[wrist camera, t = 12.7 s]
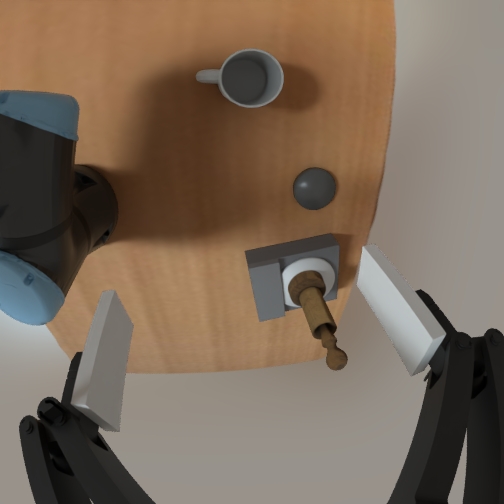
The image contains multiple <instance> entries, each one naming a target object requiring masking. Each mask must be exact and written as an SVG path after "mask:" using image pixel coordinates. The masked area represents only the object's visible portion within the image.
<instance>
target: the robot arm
mask: <svg viewBox="0 0 504 504" xmlns="http://www.w3.org/2000/svg"><path fill="white" fill-rule="evenodd" d="M78 119H79V104H78V102H77V100H76V99H75V98H74V97H72V96H70V95H65V94H58V93H49V92H37V91H19V90H0V309H1V310H2V311H3V312H4V313H6V314H7V315H9V316H10V317H12V318H13V319H15V320H18V321H20V322H22V323H25V324H30V325H44V324H46V323H48V322H50V321H52V320H53V319H54V317H55V316H56V314H57V313H58V311H59V309H60V308H61V306H63V304H64V301H65V297H66V295H67V293H68V291H69V289H70V287H71V285H72V283H73V281H74V279H75V277H76V275H77V273H78V271H79V269H80V267H81V266H82V264H83V262H84V260H85V258H86V256H87V255H89V254H90V253H92V252H93V251H95V250H96V249H98V248H100V247H101V246H102V245H103V244H104V243H105V242H106V241H107V240H108V239H109V237H110V236H111V234H112V232H113V230H114V228H115V226H116V223H117V218H118V205H117V200H116V196H115V194H114V192H113V189H112V188H111V186H110V184H109V183H108V182H107V180H106V179H105V178H104V177H103V176H102V175H101V174H99V173H98V172H97V171H95V170H93V169H91V168H89V167H86V166H82V165H74V164H75V152H76V143H77V141H78V139H79V137H78V135H77V129H78ZM357 286H358V288H359V289H360V291H361V293H362V294H363V296H364V297H365V299H366V300H367V302H368V304H369V305H370V307H371V308H372V310H373V312H374V313H375V315H376V317H377V318H378V320H379V321H380V323H381V325H382V326H383V328H384V330H385V332H386V333H387V335H388V336H389V338H390V340H391V342H392V343H393V345H394V347H395V349H396V350H397V352H398V354H399V356H400V357H401V359H402V361H403V363H404V364H405V366H406V368H407V370H408V372H409V374H410V376H413V375H415V374H418V373H420V372H422V371H424V370H425V368H426V367H427V365H428V364H429V365H430V367H431V370H430V371H429V372H428V374H427V375H426V377H425V379H424V381H426V380H427V379H428V382H427V387H426V392H425V396H424V401H423V405H422V409H421V413H420V416H419V420H418V424H417V427H416V430H415V434H414V437H413V441H412V444H411V447H410V449H409V452H408V455H407V458H406V461H405V464H404V466H403V469H402V471H401V474H400V476H399V479H398V481H397V483H396V486H395V488H394V490H393V493H392V495H391V497H390V499H389V501H388V503H387V504H448V500H447V499H448V496H449V493H450V490H451V487H452V484H453V481H454V478H455V474H456V471H457V467H458V464H459V460H460V456H461V451H462V448H463V443H464V438H465V434H466V428H467V463H466V464H467V465H466V478H465V489H464V497H463V504H504V336H503V334H502V333H501V332H500V331H499V330H497V329H493V328H491V329H488V330H487V331H486V333H485V334H484V336H482V337H473V338H471V337H470V336H469V335H468V334H466V333H463V332H457V331H456V330H455V328H454V327H453V326H452V324H451V323H450V321H449V320H448V319H447V317H446V316H445V315H444V313H443V312H442V311H441V310H440V309H439V307H438V306H437V304H435V302H434V301H433V299H432V298H431V297H430V296H429V295H428V294H427V293H425V292H424V291H422V290H421V289H420V290H417V291H414V290H413V288H412V287H411V286H410V285H409V283H408V282H407V281H406V280H405V279H404V277H403V276H402V275H401V274H400V272H399V271H398V270H397V269H396V268H395V266H394V265H393V264H392V263H391V262H390V260H389V259H388V258H387V257H386V256H385V255H384V253H383V252H382V251H381V250H380V249H379V248H378V247H377V246H376V244H371V245H365V246H363V248H362V256H361V262H360V269H359V275H358V281H357ZM133 326H134V325H133V323H132V321H131V319H130V318H129V316H128V314H127V312H126V310H125V309H124V307H123V305H122V303H121V301H120V299H119V297H118V295H117V293H116V291H115V290H109V291H103V292H102V294H101V297H100V300H99V303H98V306H97V309H96V312H95V315H94V318H93V321H92V324H91V327H90V330H89V333H88V337H87V340H86V343H85V347H84V350H83V352H77V353H76V354H75V356H74V358H73V359H72V361H71V364H70V368H69V372H68V375H67V379H66V384H65V387H64V392H63V396H62V400H61V403H60V402H59V401H58V400H57V399H55V398H53V397H47V398H45V399H43V400H42V401H41V402H40V404H39V406H38V410H37V415H38V418H40V420H37V419H36V418H35V417H33V416H30V415H28V416H25V417H24V418H23V419H22V420H21V422H20V426H19V432H20V439H21V446H22V451H23V457H24V461H25V466H26V471H27V474H28V479H29V482H30V486H31V490H32V493H33V496H34V500H35V503H36V504H92V503H91V501H92V502H93V503H94V504H156V503H155V502H154V501H152V499H151V498H150V497H149V496H148V495H147V494H146V493H145V491H143V489H142V488H141V487H140V486H139V485H138V484H137V482H136V481H135V480H134V479H133V477H132V476H131V475H130V474H129V472H128V471H127V470H126V469H125V467H124V466H123V465H122V464H121V462H120V461H119V460H118V459H117V457H116V455H115V454H114V453H113V451H112V450H111V448H110V447H109V446H108V444H107V443H106V441H105V440H104V438H103V437H102V435H101V434H100V433H99V432H98V429H99V426H100V427H101V428H102V429H103V430H105V431H115V432H116V431H117V432H119V431H120V419H121V408H122V399H123V390H124V382H125V375H126V368H127V361H128V355H129V349H130V343H131V337H132V332H133ZM90 499H91V501H90Z"/></svg>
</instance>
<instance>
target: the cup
mask: <svg viewBox="0 0 504 504" xmlns="http://www.w3.org/2000/svg"><path fill="white" fill-rule="evenodd" d="M196 79H197V81H199V82H201V83H213V84H218V87H219V90H220V92H221V93H222V95H223V96H224V97H225V98H227V99H228V100H229V101H231V102H233V103H235V104H237V105H239V106H243V107H247V108H256V107H260V106H264V105H266V104H268V103H270V102H272V101H273V100H274V99H275V98H276V97H277V96H278V94H279V93H280V91H281V89H282V86H283V83H284V74H283V71H282V67H281V65H280V64H279V62H278V61H277V60H276V59H275V58H274V57H273V56H272V55H271V54H269V53H267V52H265V51H263V50H259V49H244V50H240V51H237V52H236V53H234V54H232V55H230V56H229V57H228V58H227V59H226V60H225V62H224V63H223V65H222V67H221V69H220V70H219V69H205V70H201V71H199V72H197V74H196Z"/></svg>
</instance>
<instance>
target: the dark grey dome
mask: <svg viewBox="0 0 504 504" xmlns="http://www.w3.org/2000/svg"><path fill="white" fill-rule="evenodd" d="M335 190H336V185H335V181H334V179H333V177H332V176H331V175H330V174H329V173H328V172H327V171H325V170H323V169H321V168H316V167H314V168H309V169H306V170H304V171H303V172H301V173H300V174H299V175H298V176H297V178H296V180H295V182H294V185H293V194H294V197H295V199H296V200H297V201H298V203H299V204H300V205H301V206H302V207H304V208H306V209H309V210H317V209H321V208H323V207H325V206H326V205H328V204H329V203H330V202H331V200H332V199H333V197H334V194H335Z"/></svg>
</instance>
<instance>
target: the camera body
mask: <svg viewBox="0 0 504 504" xmlns="http://www.w3.org/2000/svg"><path fill="white" fill-rule="evenodd" d="M245 254H246V259H247V264H248V269H249V274H250V279H251V284H252V288H253V293H254V298H255V303H256V308H257V312H258V317H259V321H260V322H261V321H265V320H270V319H275V318H279V317H284V316H285V311H289V310H294V309H298V308H302V307H301V306H297V305H295V304H294V303H293V302H292V300H291V298H290V295H289V292H288V285H289V282H290V281H291V279H292V278H293V277H294V276H295V275H297V274H298V273H300V272H303V271H308V270H311V271H315V272H317V273H319V274H320V275H321V277H322V279H323V281H324V283H325V285H326V292H325V295H324V296H323V298H324V300H325V302H326V301H330V300H334V299H337V288H338V270H339V244H338V242H337V241H336V239H335V238H334V237H333V235H332V234H331V233H330V234H325V235H321V236H316V237H311V238H306V239H301V240H296V241H291V242H287V243H282V244H277V245H272V246H267V247H262V248H258V249H253V250H248V251H245Z"/></svg>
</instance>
